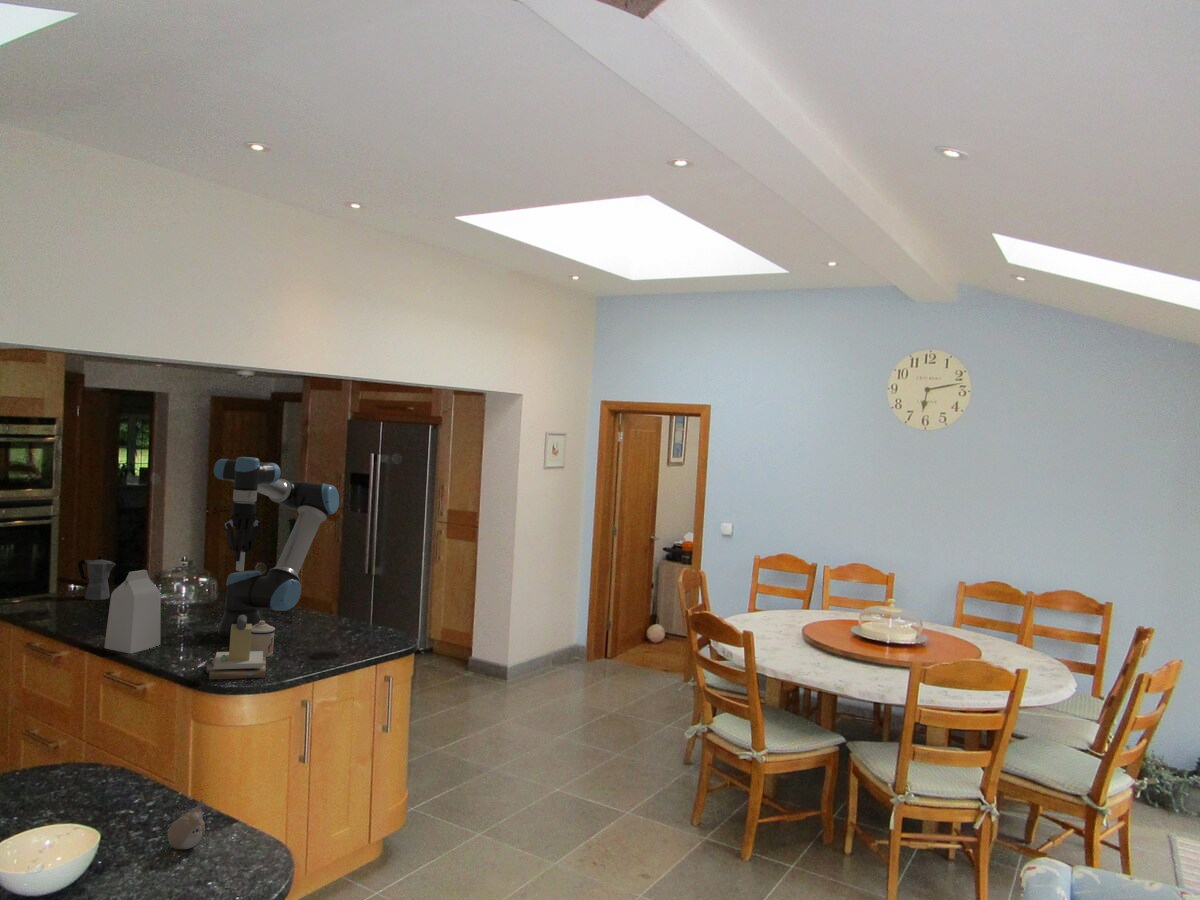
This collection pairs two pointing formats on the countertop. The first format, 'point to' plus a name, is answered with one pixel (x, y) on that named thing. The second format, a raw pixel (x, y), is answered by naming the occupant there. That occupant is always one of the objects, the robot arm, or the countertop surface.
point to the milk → (134, 615)
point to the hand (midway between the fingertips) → (239, 570)
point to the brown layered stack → (236, 672)
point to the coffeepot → (97, 578)
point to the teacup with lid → (262, 638)
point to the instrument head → (239, 649)
